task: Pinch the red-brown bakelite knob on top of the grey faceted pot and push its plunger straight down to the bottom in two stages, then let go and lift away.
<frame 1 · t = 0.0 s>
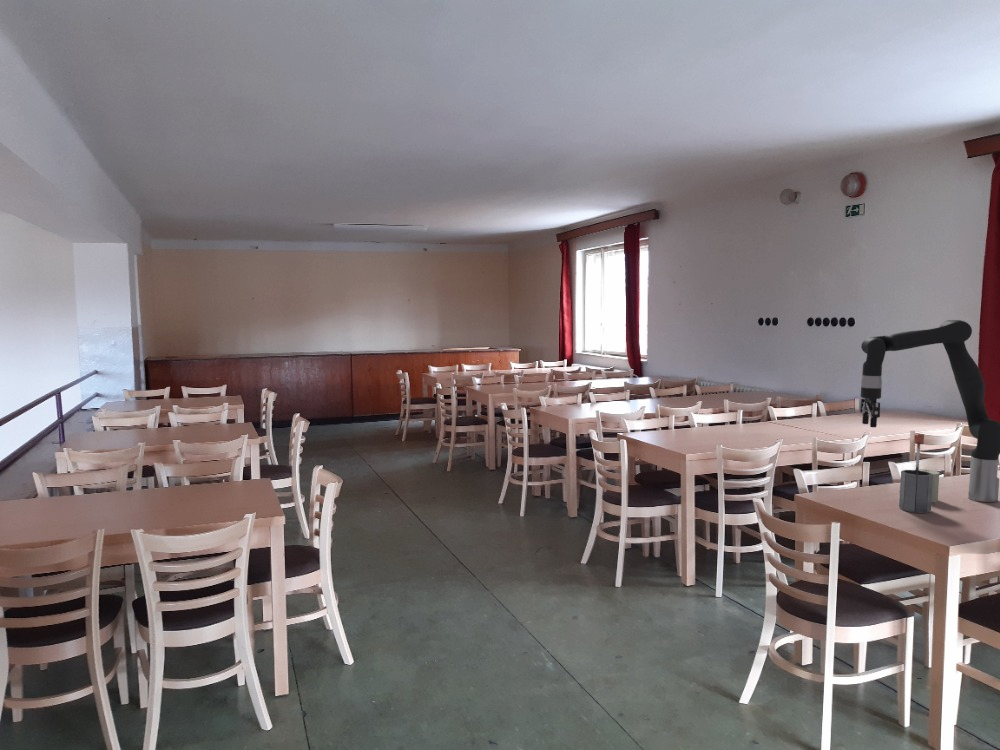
hand: (869, 425, 296), 29 cm above the table, fingers open, 8 cm apart
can: (924, 499, 294), on the table
plunger: (917, 459, 276), point 20 cm above the table, slide at 9.0 cm
grey faceted pot: (914, 509, 278), on the table
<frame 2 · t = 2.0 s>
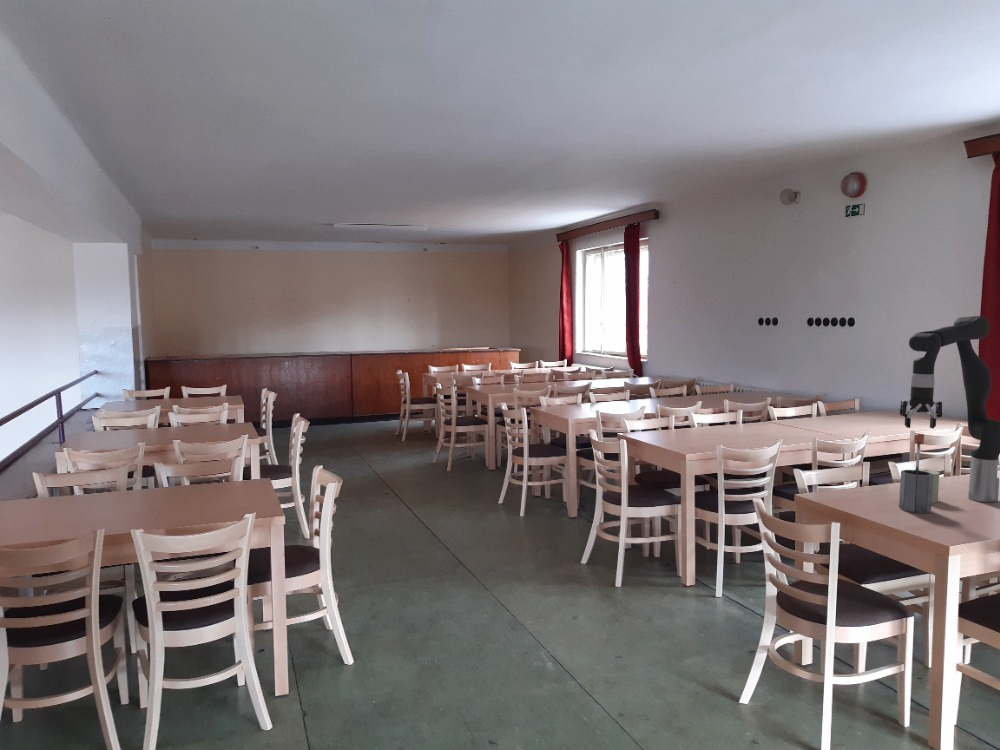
hand: (919, 427, 275), 32 cm above the table, fingers open, 8 cm apart
nothing on the table moved.
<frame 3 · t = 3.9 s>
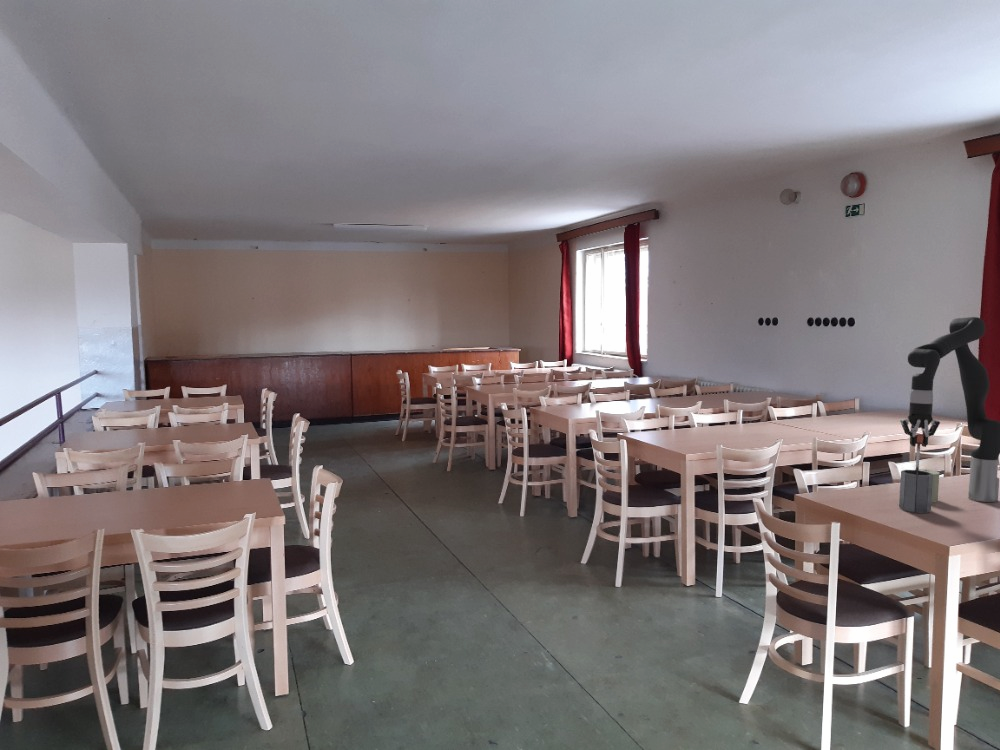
hand: (918, 446, 276), 25 cm above the table, fingers closed on plunger, 3 cm apart
plunger: (917, 459, 276), point 20 cm above the table, slide at 9.0 cm, touching gripper
everything else where it was.
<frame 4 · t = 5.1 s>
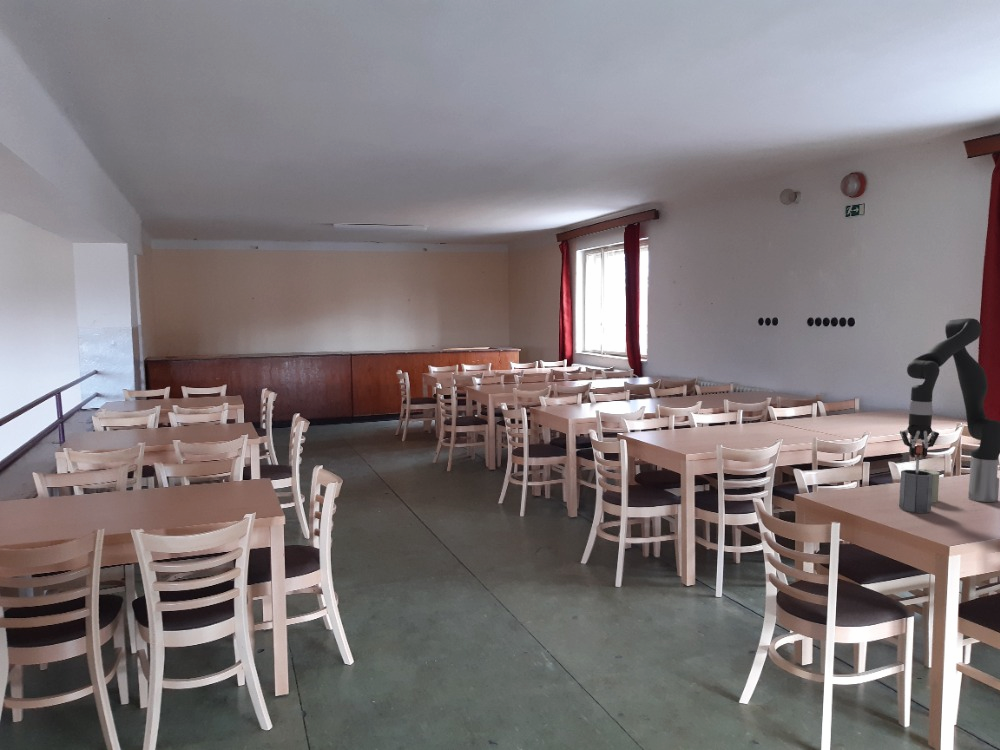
hand: (917, 457, 276), 21 cm above the table, fingers closed on plunger, 3 cm apart
plunger: (917, 470, 277), point 15 cm above the table, slide at 4.7 cm, touching gripper
everything else where it was.
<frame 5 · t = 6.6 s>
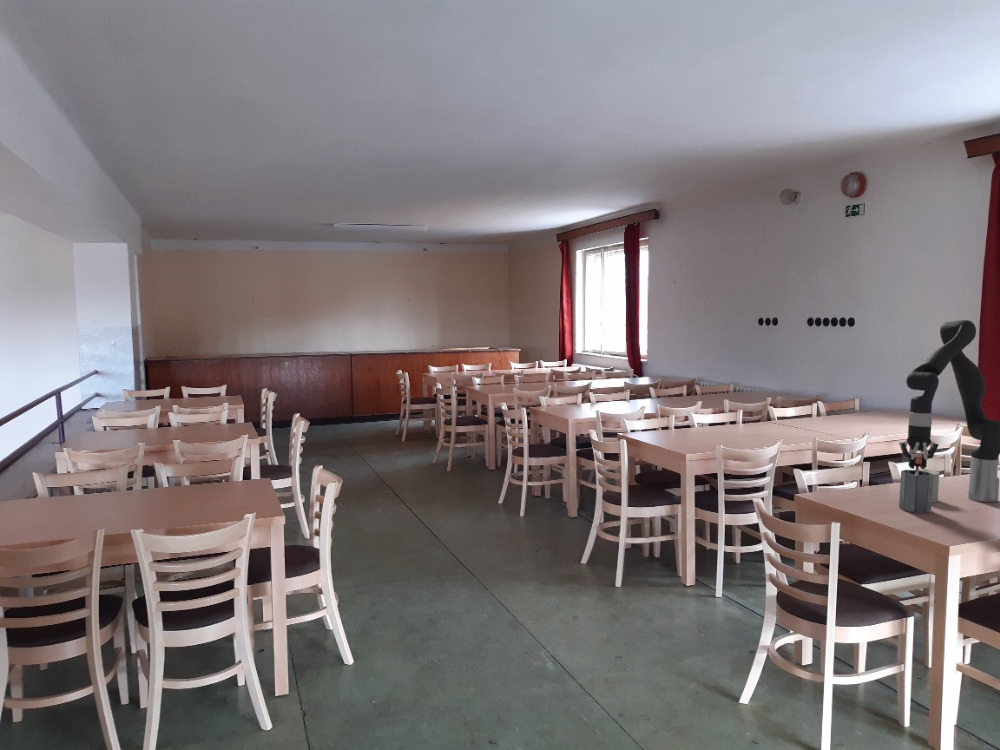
hand: (917, 468, 277), 16 cm above the table, fingers closed on plunger, 3 cm apart
plunger: (916, 481, 277), point 11 cm above the table, slide at 0.3 cm, touching gripper
everything else where it was.
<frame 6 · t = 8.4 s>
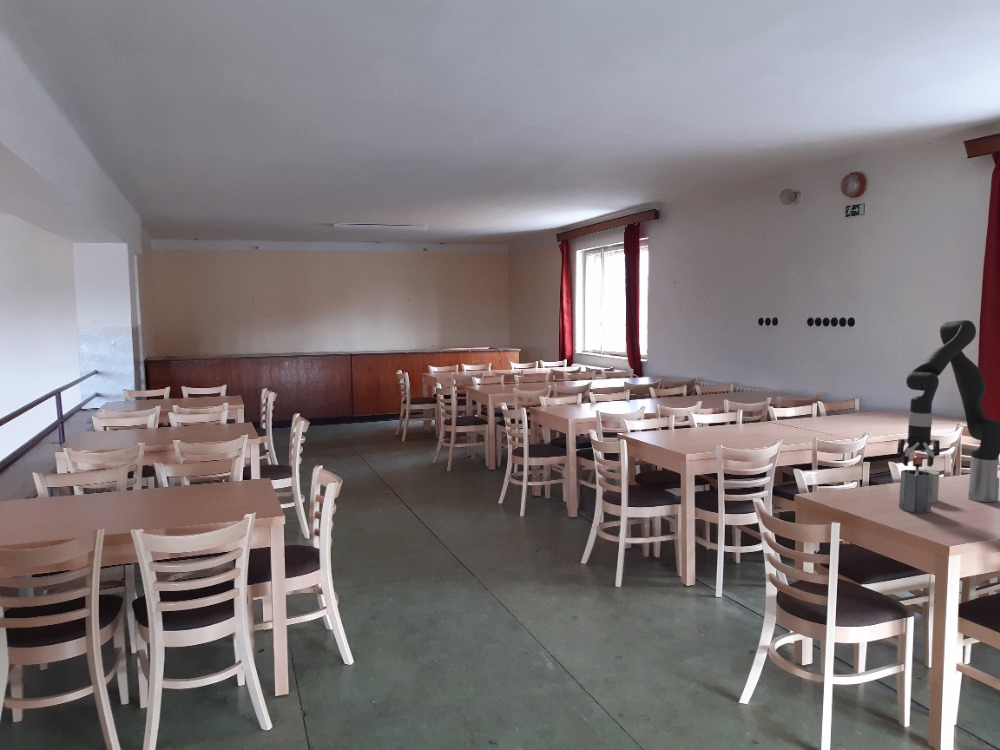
hand: (917, 465, 277), 17 cm above the table, fingers open, 8 cm apart
plunger: (916, 482, 277), point 11 cm above the table, slide at 0.2 cm
everything else where it was.
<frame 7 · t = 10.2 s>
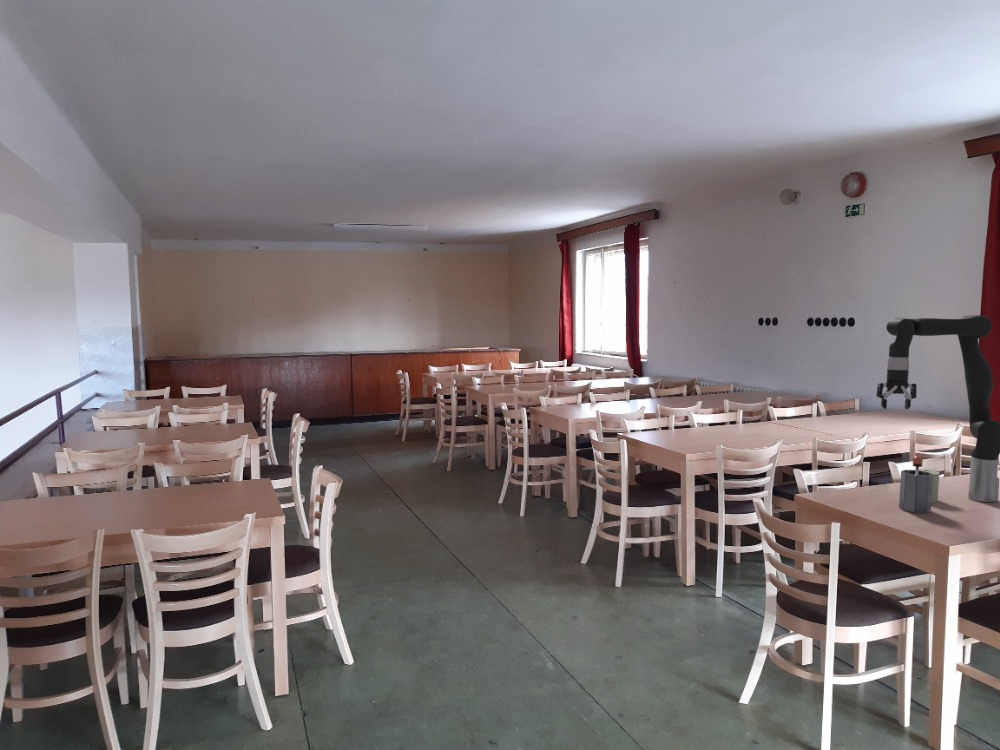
hand: (895, 408, 289), 37 cm above the table, fingers open, 8 cm apart
nothing on the table moved.
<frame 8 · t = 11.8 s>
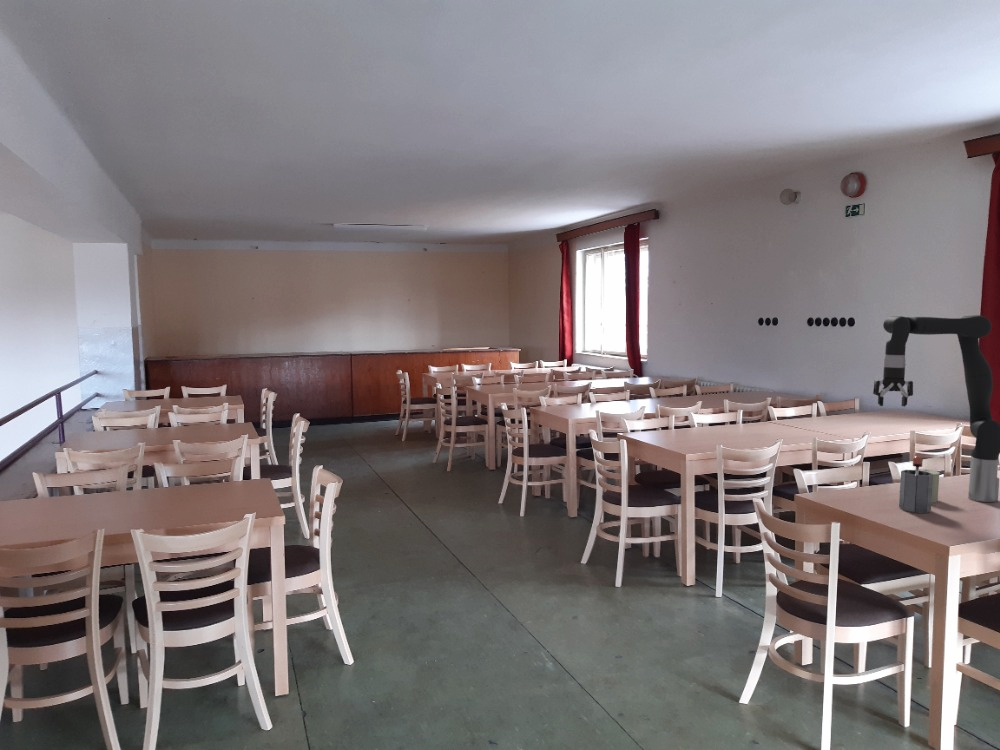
hand: (892, 406, 291), 38 cm above the table, fingers open, 8 cm apart
nothing on the table moved.
at the end: plunger slide at 0.2 cm; the gripper is holding nothing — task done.
